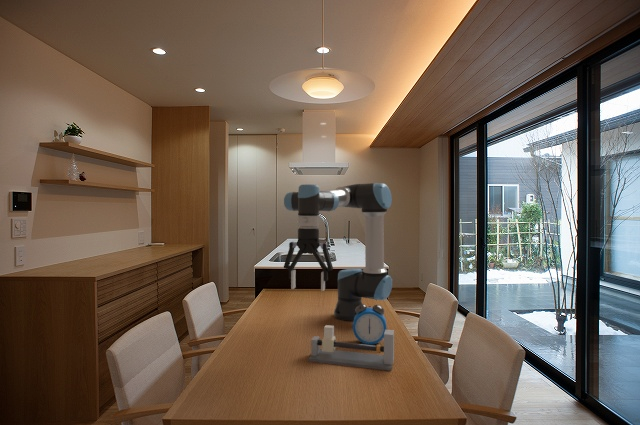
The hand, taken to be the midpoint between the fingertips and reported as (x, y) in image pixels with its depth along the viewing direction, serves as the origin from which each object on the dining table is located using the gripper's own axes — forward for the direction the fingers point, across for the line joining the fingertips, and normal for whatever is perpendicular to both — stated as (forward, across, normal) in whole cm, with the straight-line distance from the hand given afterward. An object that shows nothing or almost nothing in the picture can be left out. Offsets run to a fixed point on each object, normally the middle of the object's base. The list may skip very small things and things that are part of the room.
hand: (308, 289), depth 134 cm
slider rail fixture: (+24, +16, 0) cm, 29 cm away
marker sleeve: (+21, +8, 0) cm, 22 cm away
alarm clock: (+24, +20, +19) cm, 37 cm away
